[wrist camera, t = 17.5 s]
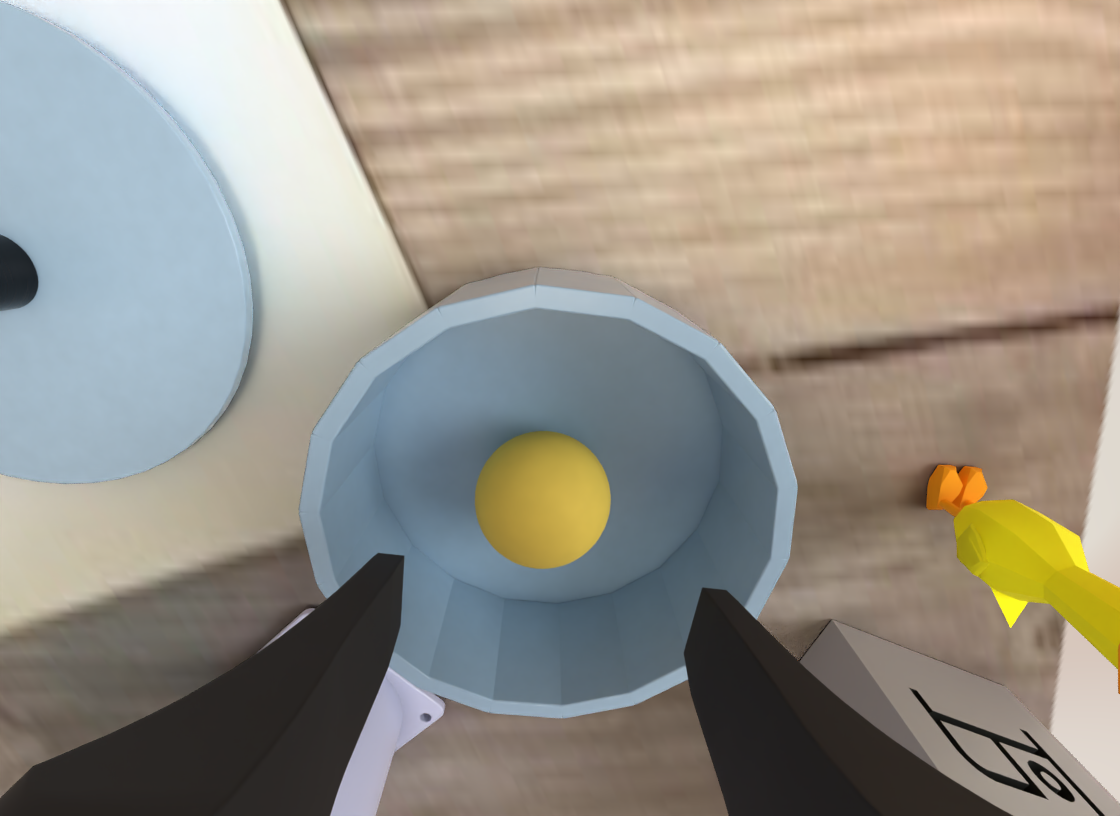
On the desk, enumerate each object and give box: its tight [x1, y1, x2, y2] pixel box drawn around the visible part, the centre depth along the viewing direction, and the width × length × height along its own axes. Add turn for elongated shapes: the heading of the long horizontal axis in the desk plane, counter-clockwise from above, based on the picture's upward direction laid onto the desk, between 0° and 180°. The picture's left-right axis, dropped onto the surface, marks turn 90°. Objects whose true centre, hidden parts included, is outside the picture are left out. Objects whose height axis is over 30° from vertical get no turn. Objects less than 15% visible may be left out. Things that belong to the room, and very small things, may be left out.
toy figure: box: [926, 465, 1120, 694], centre depth 16 cm, size 7×4×12 cm, turn 177°
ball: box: [475, 431, 611, 569], centre depth 18 cm, size 5×5×5 cm
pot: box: [299, 267, 798, 718], centre depth 18 cm, size 14×14×6 cm
